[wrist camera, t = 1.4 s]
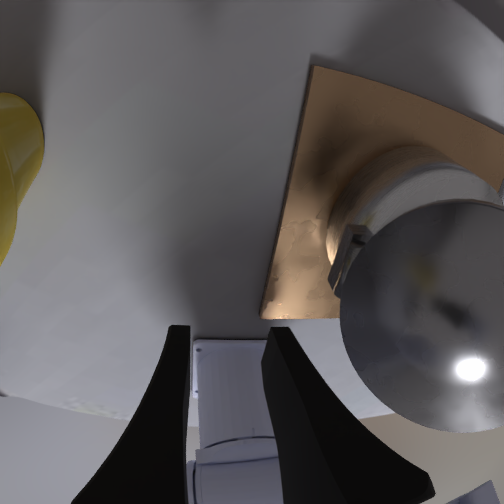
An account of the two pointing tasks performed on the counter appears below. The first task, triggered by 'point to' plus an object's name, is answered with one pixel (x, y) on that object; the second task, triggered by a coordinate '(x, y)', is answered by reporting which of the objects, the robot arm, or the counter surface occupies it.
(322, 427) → the robot arm
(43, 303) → the counter surface
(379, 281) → the cooker lid
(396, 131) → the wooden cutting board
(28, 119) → the plant pot
